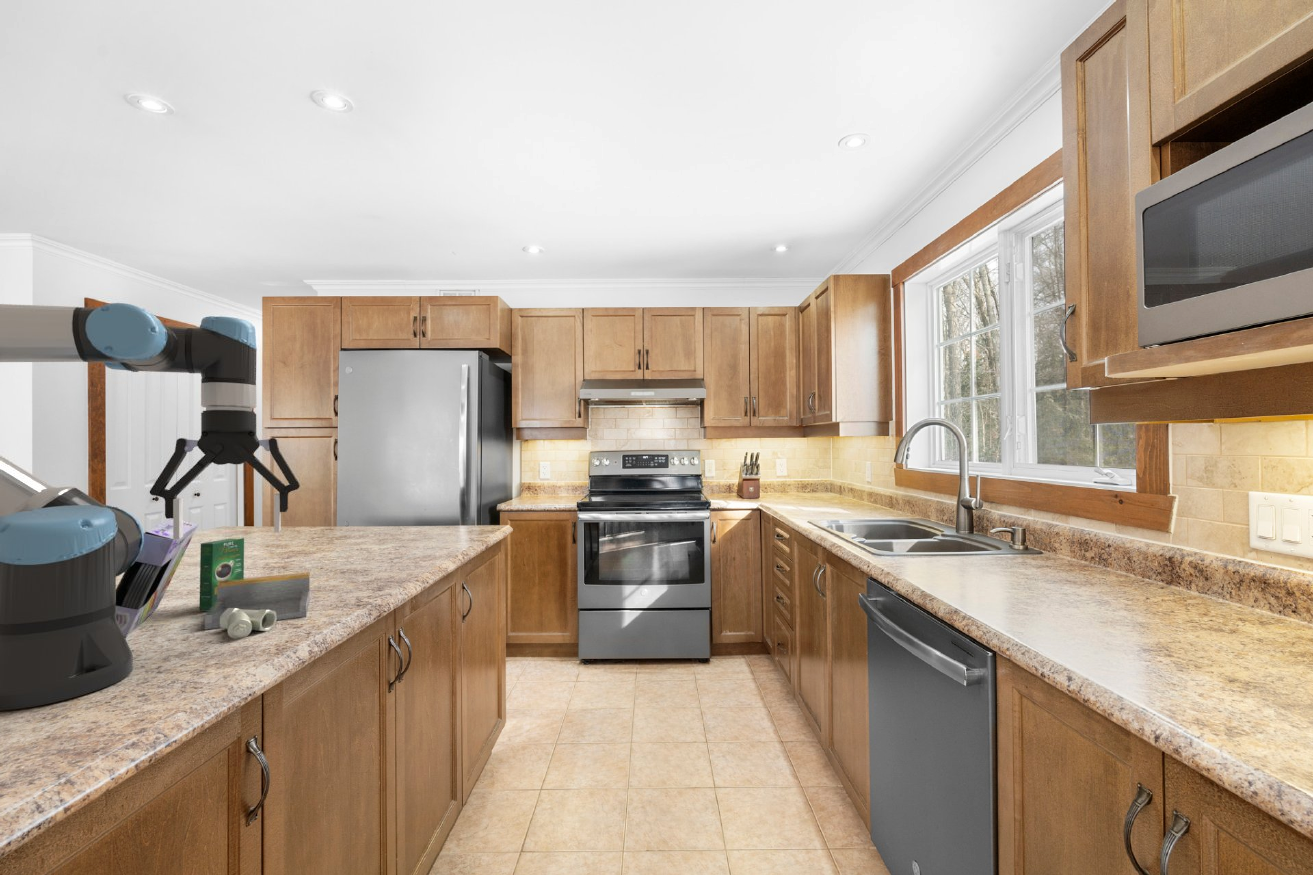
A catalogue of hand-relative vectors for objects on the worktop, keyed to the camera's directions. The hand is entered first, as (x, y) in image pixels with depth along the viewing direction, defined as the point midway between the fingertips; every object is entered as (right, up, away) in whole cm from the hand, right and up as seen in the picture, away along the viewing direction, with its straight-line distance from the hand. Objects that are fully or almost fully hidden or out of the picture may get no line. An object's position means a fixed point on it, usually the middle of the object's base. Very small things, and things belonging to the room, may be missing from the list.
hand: (229, 534), depth 97 cm
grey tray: (-2, -17, +11) cm, 20 cm away
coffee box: (-14, -17, +17) cm, 28 cm away
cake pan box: (-22, -17, +5) cm, 28 cm away
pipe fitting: (+2, -17, 0) cm, 17 cm away
